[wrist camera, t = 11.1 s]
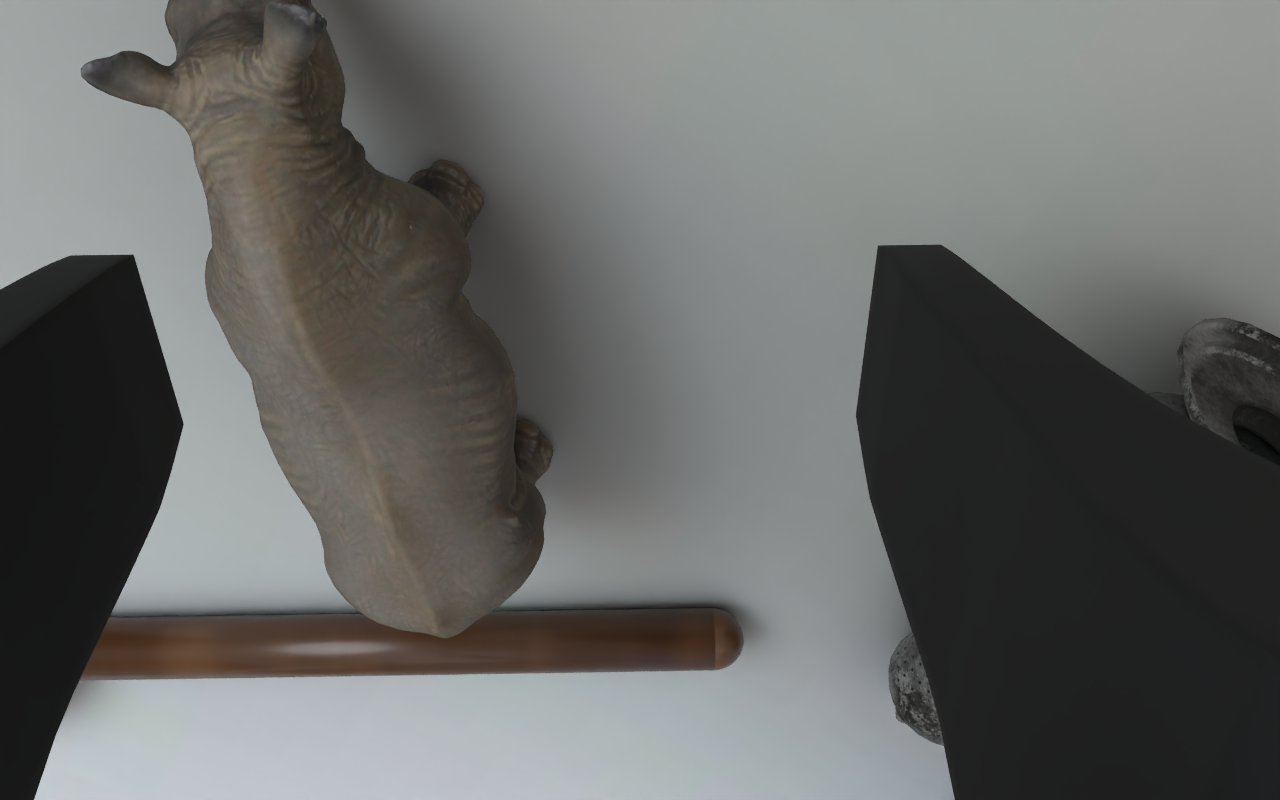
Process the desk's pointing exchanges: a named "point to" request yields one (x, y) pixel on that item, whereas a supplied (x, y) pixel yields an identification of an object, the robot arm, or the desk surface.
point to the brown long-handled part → (414, 645)
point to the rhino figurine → (351, 318)
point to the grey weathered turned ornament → (1212, 397)
